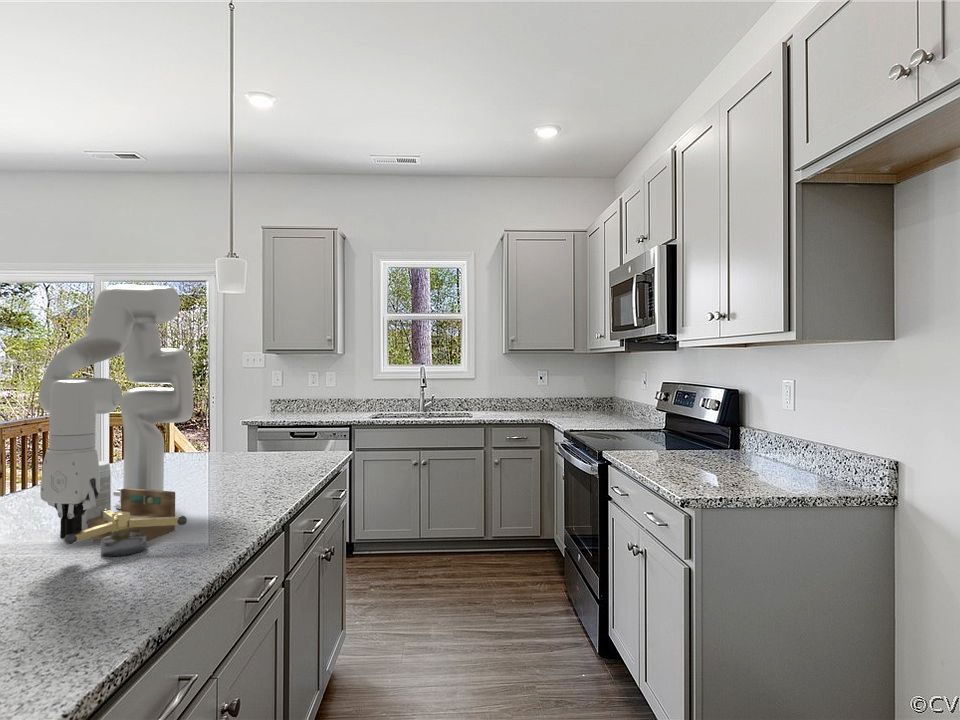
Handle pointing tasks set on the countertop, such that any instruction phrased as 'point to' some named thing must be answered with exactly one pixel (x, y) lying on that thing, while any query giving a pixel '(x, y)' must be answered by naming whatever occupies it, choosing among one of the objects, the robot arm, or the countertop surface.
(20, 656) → the countertop surface
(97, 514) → the supplement tub
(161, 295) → the robot arm
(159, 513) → the level stand
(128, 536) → the tan branched rod piece
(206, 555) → the countertop surface
